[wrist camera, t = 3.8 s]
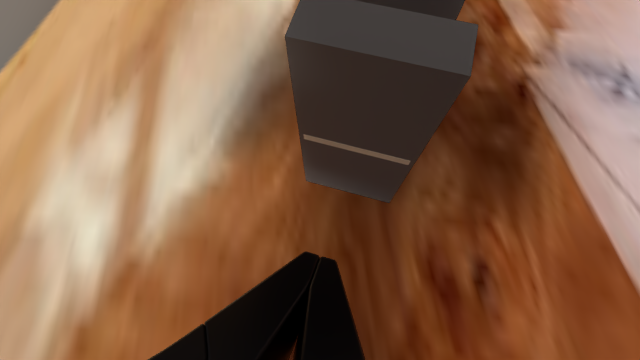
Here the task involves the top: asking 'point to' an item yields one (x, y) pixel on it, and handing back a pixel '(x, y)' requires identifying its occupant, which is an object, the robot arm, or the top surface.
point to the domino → (372, 89)
